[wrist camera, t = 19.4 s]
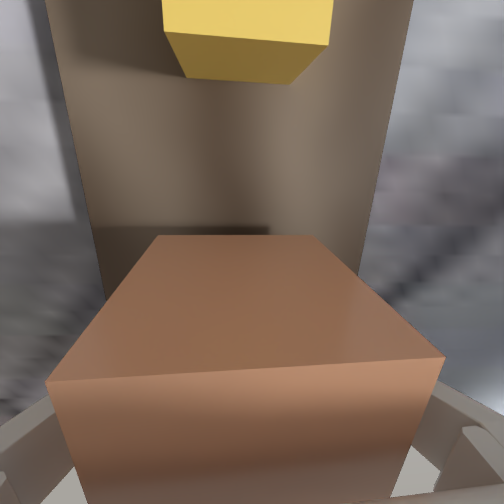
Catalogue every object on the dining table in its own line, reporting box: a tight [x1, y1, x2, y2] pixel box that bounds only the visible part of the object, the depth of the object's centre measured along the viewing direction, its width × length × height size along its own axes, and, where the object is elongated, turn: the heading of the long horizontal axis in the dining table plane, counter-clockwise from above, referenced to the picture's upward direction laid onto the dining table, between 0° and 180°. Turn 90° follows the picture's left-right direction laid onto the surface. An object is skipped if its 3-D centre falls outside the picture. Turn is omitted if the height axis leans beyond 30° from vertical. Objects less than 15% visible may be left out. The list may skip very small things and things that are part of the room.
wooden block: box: [45, 235, 446, 504], centre depth 8 cm, size 6×6×7 cm
